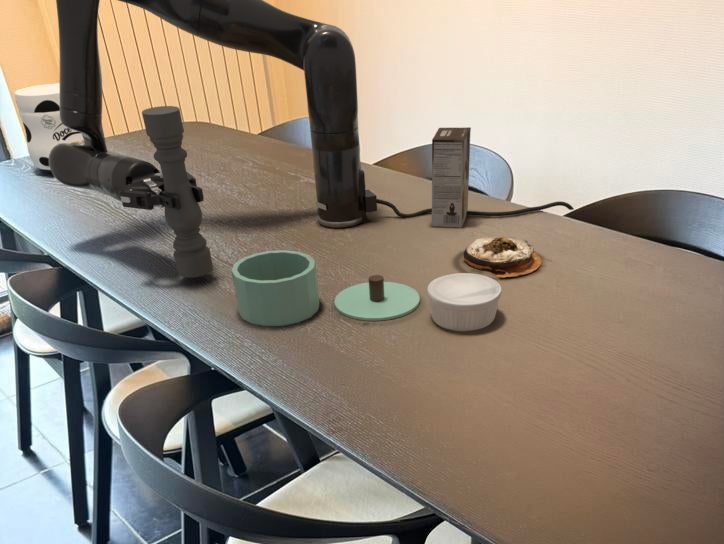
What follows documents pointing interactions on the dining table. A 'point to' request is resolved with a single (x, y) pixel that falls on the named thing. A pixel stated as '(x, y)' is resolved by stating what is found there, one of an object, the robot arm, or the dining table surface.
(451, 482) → the dining table surface
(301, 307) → the pot
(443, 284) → the ramekin
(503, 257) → the cream topped cake
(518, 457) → the dining table surface
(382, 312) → the pot lid
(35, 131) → the doce de leite jar
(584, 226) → the dining table surface
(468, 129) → the coffee box
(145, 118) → the candle holder
